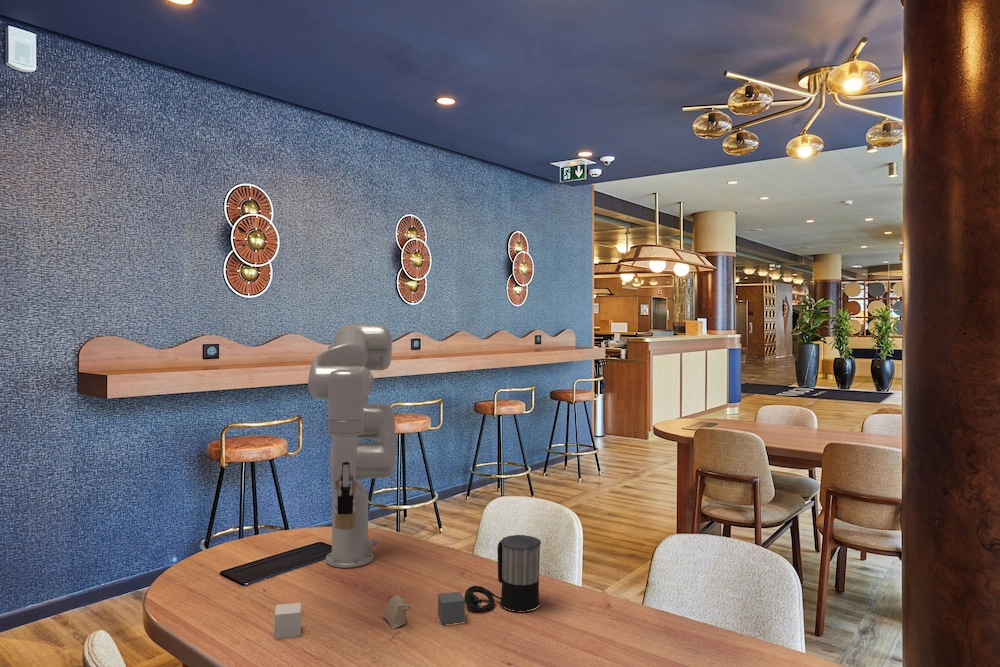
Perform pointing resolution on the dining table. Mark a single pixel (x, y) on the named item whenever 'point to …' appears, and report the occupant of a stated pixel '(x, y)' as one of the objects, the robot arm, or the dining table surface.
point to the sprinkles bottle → (346, 519)
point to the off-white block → (287, 620)
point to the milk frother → (513, 576)
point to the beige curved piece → (396, 611)
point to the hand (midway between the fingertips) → (344, 509)
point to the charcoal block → (451, 608)
